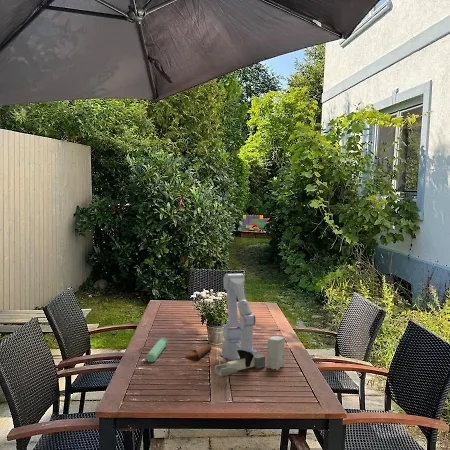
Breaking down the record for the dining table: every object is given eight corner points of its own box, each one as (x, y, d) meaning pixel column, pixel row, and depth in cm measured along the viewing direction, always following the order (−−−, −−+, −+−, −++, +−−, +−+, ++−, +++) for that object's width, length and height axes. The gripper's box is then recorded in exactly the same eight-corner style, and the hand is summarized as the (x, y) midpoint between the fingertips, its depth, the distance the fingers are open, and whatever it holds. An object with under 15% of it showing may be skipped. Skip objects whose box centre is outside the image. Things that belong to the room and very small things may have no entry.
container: (153, 351, 240) (165, 336, 264) (142, 354, 240) (155, 339, 265) (157, 362, 240) (169, 346, 264) (146, 365, 240) (159, 349, 265)
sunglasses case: (196, 348, 265) (202, 338, 264) (206, 356, 263) (213, 346, 262) (183, 358, 248) (189, 348, 247) (194, 367, 246) (200, 357, 245)
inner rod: (226, 370, 232) (226, 362, 232) (251, 364, 242) (252, 356, 242) (230, 372, 230) (230, 364, 230) (255, 366, 239) (256, 358, 239)
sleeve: (214, 373, 230) (215, 366, 229) (231, 369, 236) (231, 362, 235) (220, 376, 226) (221, 369, 225) (237, 372, 232) (238, 365, 231)
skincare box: (277, 370, 236) (278, 340, 235) (266, 368, 239) (267, 338, 238) (283, 365, 243) (285, 336, 242) (272, 363, 246) (274, 334, 245)
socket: (247, 364, 243) (248, 354, 243) (255, 362, 246) (256, 352, 246) (256, 368, 237) (257, 358, 237) (264, 366, 241) (265, 356, 240)
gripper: (231, 335, 240) (230, 362, 241) (249, 343, 228) (248, 371, 229) (242, 333, 244) (241, 360, 245) (261, 341, 233) (259, 369, 233)
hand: (245, 365), depth 237 cm, fingers closed on inner rod, 3 cm apart
